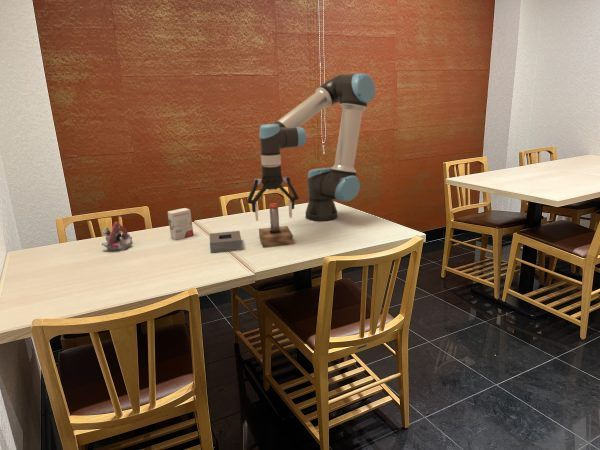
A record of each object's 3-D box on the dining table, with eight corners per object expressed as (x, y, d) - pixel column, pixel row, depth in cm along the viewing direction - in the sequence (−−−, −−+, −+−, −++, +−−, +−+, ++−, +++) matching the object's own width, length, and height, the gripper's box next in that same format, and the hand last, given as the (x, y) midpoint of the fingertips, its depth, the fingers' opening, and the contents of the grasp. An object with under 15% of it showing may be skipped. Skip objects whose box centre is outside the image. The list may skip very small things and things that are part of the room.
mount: (287, 235, 186) (287, 226, 185) (292, 244, 175) (292, 234, 174) (259, 237, 184) (258, 228, 183) (262, 247, 173) (262, 237, 171)
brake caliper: (125, 247, 172) (105, 223, 171) (108, 262, 176) (89, 239, 175) (142, 238, 182) (123, 215, 181) (126, 252, 186) (107, 230, 185)
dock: (240, 239, 183) (239, 230, 181) (242, 249, 171) (241, 239, 170) (210, 242, 180) (209, 233, 179) (210, 253, 169) (209, 243, 168)
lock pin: (279, 239, 181) (277, 202, 177) (280, 242, 178) (278, 204, 173) (271, 240, 181) (268, 203, 176) (272, 242, 177) (269, 205, 173)
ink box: (188, 233, 194) (185, 207, 191) (194, 235, 190) (191, 209, 187) (170, 237, 189) (166, 211, 185) (175, 240, 185) (171, 213, 182)
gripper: (301, 162, 176) (302, 213, 182) (238, 165, 171) (241, 218, 178) (304, 164, 169) (306, 218, 175) (239, 169, 164) (243, 223, 171)
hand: (273, 218), depth 176 cm, fingers open, 13 cm apart
